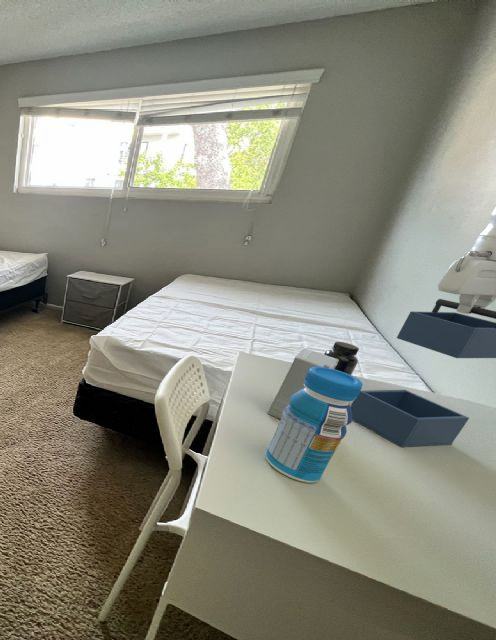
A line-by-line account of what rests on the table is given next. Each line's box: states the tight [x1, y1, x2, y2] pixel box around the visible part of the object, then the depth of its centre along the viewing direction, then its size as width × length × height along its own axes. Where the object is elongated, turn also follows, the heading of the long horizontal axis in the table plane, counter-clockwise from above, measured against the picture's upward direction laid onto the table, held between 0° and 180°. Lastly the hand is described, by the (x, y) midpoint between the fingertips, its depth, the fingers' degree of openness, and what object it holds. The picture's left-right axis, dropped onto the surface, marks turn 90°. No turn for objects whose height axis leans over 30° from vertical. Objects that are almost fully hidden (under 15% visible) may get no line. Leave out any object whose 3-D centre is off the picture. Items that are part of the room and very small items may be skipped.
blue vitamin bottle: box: [265, 367, 363, 484], centre depth 62 cm, size 8×8×20 cm
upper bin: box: [396, 298, 496, 359], centre depth 80 cm, size 13×11×10 cm
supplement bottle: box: [323, 341, 360, 376], centre depth 97 cm, size 7×7×12 cm
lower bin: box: [350, 389, 470, 448], centre depth 78 cm, size 13×11×7 cm
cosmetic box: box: [267, 348, 339, 420], centre depth 79 cm, size 8×7×16 cm
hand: (468, 313), depth 79 cm, fingers closed on upper bin
